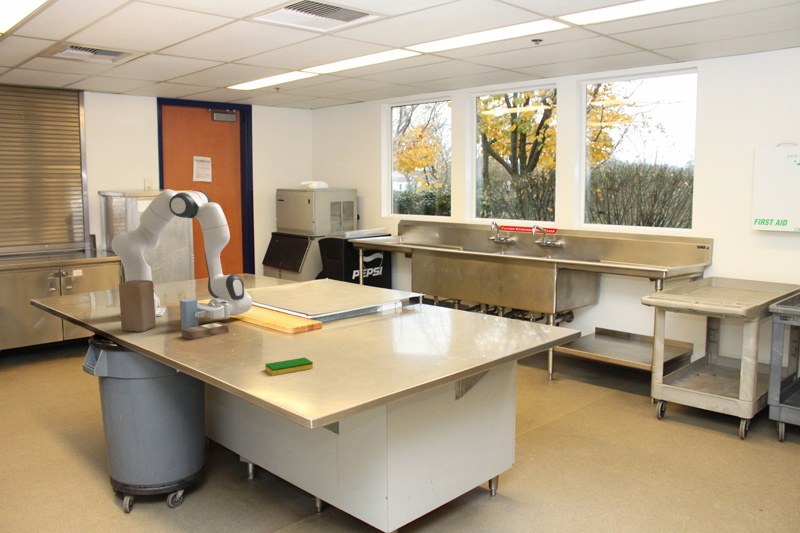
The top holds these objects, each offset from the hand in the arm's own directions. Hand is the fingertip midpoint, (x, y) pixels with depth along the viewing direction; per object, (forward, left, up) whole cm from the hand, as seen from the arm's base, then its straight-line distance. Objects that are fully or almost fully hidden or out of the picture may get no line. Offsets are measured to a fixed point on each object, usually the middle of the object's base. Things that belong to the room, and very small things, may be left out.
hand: (188, 313), depth 264 cm
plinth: (+11, +9, -7) cm, 16 cm away
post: (0, 0, -7) cm, 7 cm away
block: (-1, -21, -7) cm, 22 cm away
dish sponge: (+61, +48, -7) cm, 78 cm away
